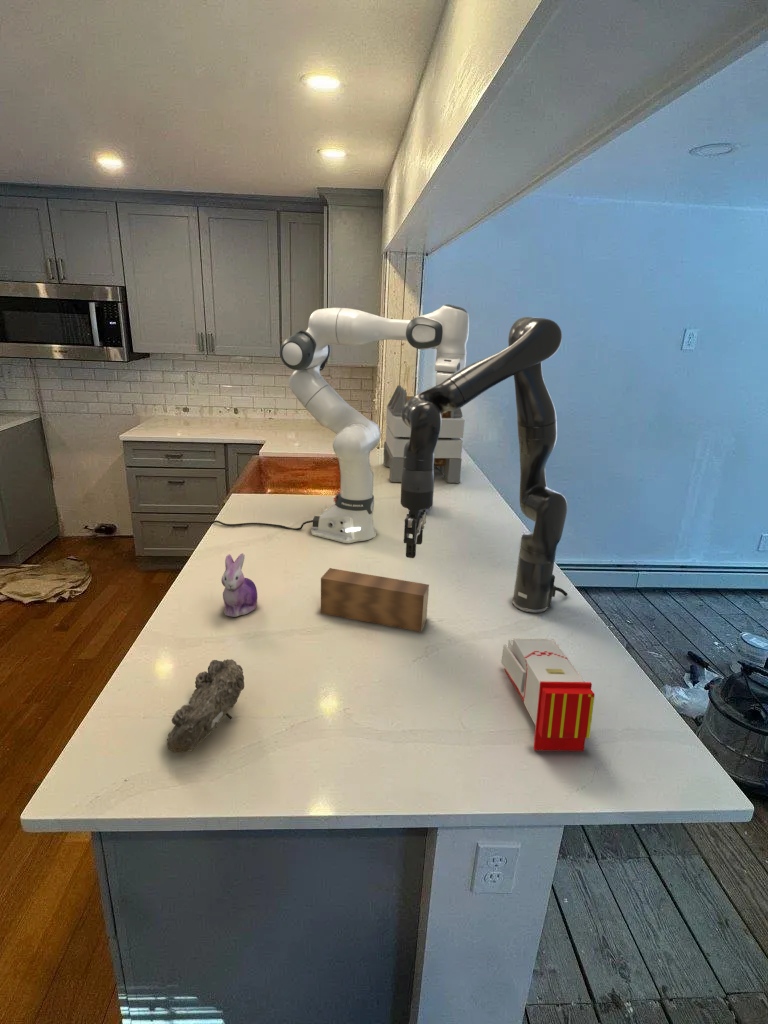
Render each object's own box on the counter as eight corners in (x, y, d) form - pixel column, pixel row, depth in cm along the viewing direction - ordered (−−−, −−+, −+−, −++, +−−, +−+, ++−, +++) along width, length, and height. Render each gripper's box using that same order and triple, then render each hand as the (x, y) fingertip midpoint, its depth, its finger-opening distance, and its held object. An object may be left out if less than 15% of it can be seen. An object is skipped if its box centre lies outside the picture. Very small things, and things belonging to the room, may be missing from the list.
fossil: (192, 660, 117) (244, 628, 112) (224, 691, 120) (276, 661, 115) (142, 746, 98) (202, 712, 93) (182, 779, 101) (242, 748, 96)
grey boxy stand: (382, 463, 289) (386, 382, 275) (445, 464, 293) (451, 384, 279) (390, 482, 257) (394, 392, 243) (460, 483, 261) (468, 394, 247)
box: (320, 613, 146) (320, 577, 143) (329, 602, 152) (329, 567, 149) (421, 632, 140) (423, 595, 136) (426, 619, 145) (429, 584, 142)
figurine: (226, 621, 140) (223, 566, 135) (217, 603, 148) (214, 550, 143) (264, 614, 144) (262, 560, 139) (253, 596, 153) (251, 545, 148)
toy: (549, 621, 128) (604, 690, 99) (544, 676, 131) (595, 758, 101) (496, 620, 128) (535, 688, 98) (492, 675, 130) (528, 757, 101)
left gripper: (446, 359, 179) (442, 403, 183) (433, 365, 160) (429, 413, 165) (466, 361, 177) (461, 405, 182) (455, 366, 158) (451, 416, 163)
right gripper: (427, 497, 124) (424, 564, 129) (438, 479, 137) (434, 541, 142) (394, 493, 125) (392, 560, 131) (408, 476, 138) (405, 537, 144)
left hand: (446, 409), depth 173 cm, fingers open, 8 cm apart
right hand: (414, 550), depth 137 cm, fingers open, 8 cm apart
